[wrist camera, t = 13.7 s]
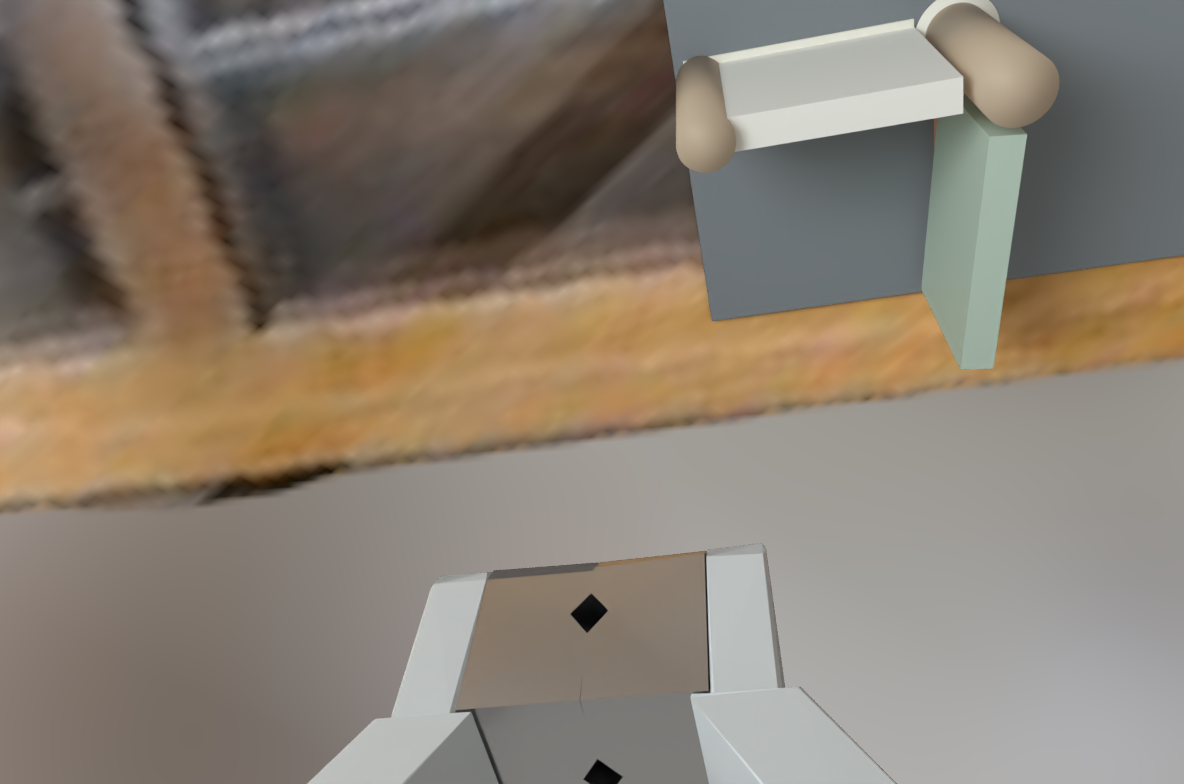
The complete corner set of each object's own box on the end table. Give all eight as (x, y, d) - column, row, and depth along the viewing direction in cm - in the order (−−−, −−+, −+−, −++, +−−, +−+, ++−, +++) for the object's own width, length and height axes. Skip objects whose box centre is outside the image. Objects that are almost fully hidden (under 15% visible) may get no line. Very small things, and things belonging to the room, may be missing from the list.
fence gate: (940, 81, 38) (989, 136, 32) (972, 79, 38) (1027, 134, 32) (921, 288, 43) (960, 369, 37) (949, 287, 43) (993, 368, 37)
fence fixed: (680, 112, 40) (681, 182, 33) (671, 53, 39) (670, 113, 32) (986, 58, 38) (1057, 121, 31) (986, -5, 37) (1061, 44, 30)
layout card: (711, 318, 45) (712, 322, 45) (660, -20, 38) (660, -18, 37) (1221, 246, 42) (1225, 250, 41) (1278, -143, 34) (1284, -143, 34)
